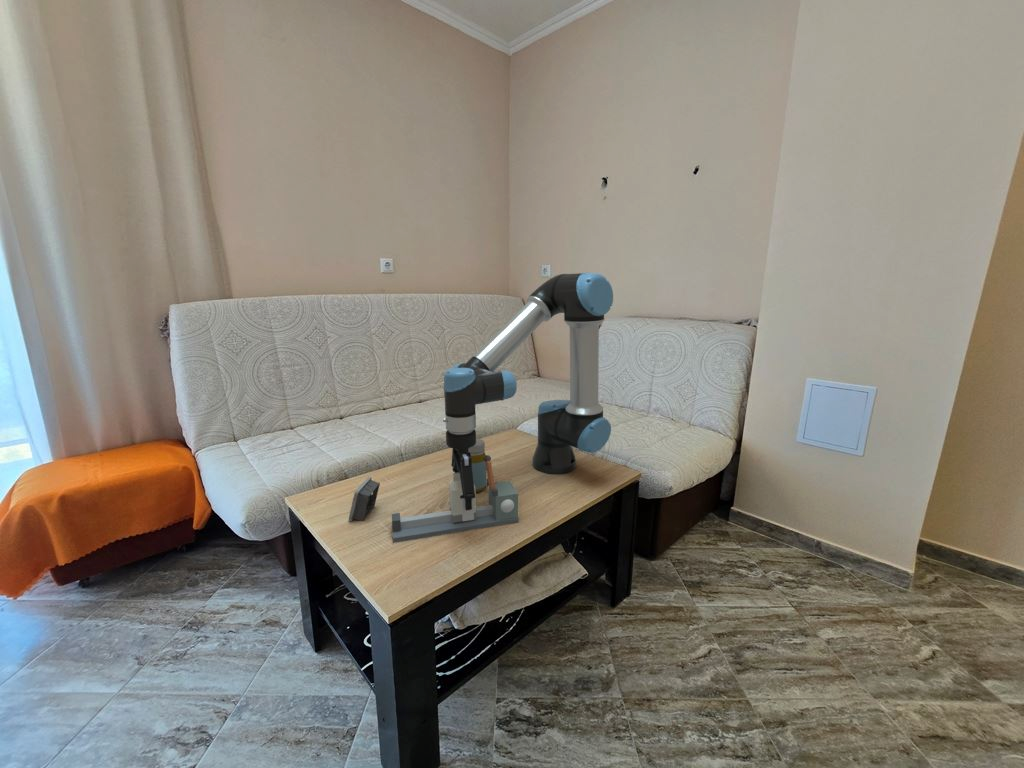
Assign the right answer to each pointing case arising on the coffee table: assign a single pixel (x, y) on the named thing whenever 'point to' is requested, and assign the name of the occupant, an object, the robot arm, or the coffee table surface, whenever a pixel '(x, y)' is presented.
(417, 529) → the rail bench
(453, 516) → the carriage
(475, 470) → the bottle
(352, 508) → the electrical switch
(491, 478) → the lever
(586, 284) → the robot arm
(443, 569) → the coffee table surface
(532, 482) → the coffee table surface
